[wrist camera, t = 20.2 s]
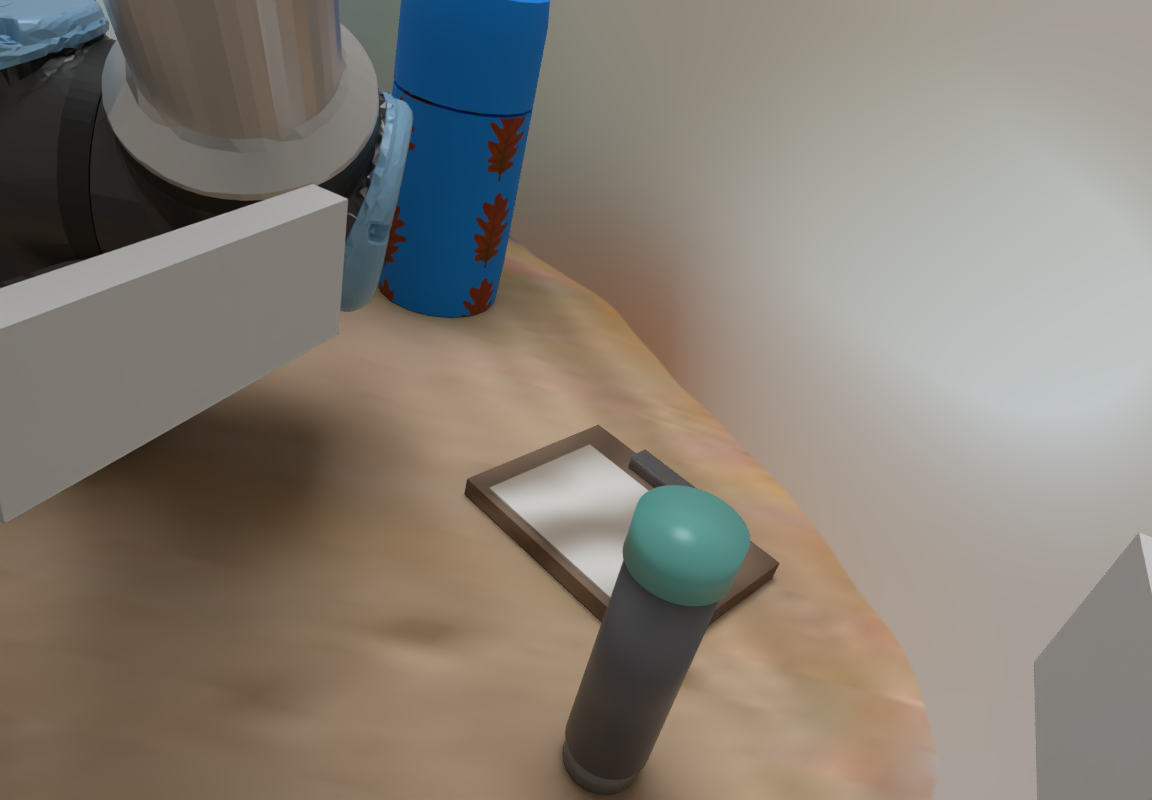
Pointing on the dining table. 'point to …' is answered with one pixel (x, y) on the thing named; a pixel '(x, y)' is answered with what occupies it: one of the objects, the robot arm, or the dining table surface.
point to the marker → (651, 631)
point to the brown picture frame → (587, 513)
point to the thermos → (460, 147)
